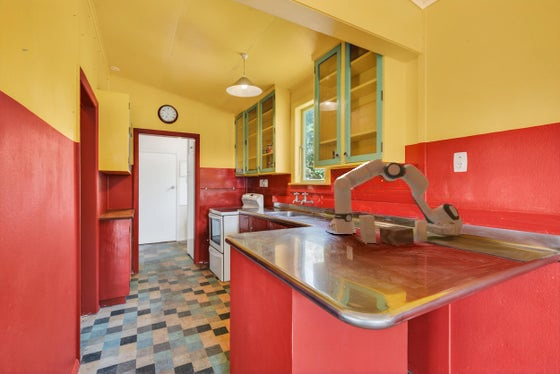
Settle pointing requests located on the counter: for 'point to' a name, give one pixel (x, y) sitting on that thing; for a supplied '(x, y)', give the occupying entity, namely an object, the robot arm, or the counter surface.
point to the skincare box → (367, 228)
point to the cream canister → (421, 231)
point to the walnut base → (397, 235)
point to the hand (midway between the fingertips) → (425, 229)
